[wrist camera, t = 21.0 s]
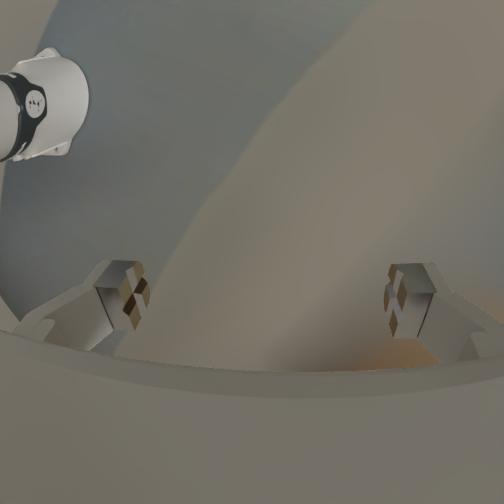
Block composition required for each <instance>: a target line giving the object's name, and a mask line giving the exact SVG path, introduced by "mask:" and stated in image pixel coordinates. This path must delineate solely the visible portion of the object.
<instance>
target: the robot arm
mask: <svg viewBox="0 0 504 504" xmlns="http://www.w3.org/2000/svg"><path fill="white" fill-rule="evenodd" d="M88 101H89V93H88V86H87V82H86V79H85V76H84V74H83V72H82V71H81V69H80V68H79V67H78V66H77V65H76V64H75V63H74V62H72V61H70V60H68V59H66V58H63V57H61V56H60V55H59V53H58V52H57V51H56V50H55V49H54V48H52V47H50V48H46V49H44V50H43V51H42V52H40V53H39V54H38V55H36V56H35V57H34V58H32V59H29V60H24V61H20V62H18V63H17V65H16V66H15V67H14V68H12V69H11V70H10V71H9V72H8V73H2V74H0V162H3V161H5V160H9V159H11V158H12V160H13V161H19V160H22V159H29V158H31V157H35V156H38V155H57V156H61V155H64V154H66V153H67V152H68V150H69V148H70V144H71V141H72V138H73V136H74V135H75V134H76V132H77V131H78V130H79V129H80V127H81V125H82V123H83V121H84V119H85V116H86V113H87V109H88ZM56 147H57V149H56ZM144 273H145V271H144V268H143V265H142V263H141V262H139V261H123V260H102V261H100V262H99V263H98V264H97V266H96V267H95V268H94V269H93V271H92V272H91V273H90V274H89V276H88V277H87V278H86V279H85V281H84V282H83V283H82V284H81V286H76V287H74V288H72V289H70V290H68V291H66V292H65V293H63V294H61V295H59V296H57V297H56V298H54V299H52V300H50V301H48V302H47V303H45V304H43V305H41V306H40V307H38V308H36V309H34V310H32V311H31V312H29V313H27V314H26V315H25V317H24V318H23V319H22V321H21V322H20V323H19V325H18V326H17V327H16V328H15V330H14V331H13V333H9V332H6V331H2V330H0V504H504V324H503V323H501V322H500V321H499V320H497V319H495V318H494V317H493V316H491V315H490V314H488V313H487V312H486V311H484V310H482V309H481V308H479V307H478V306H477V305H475V304H474V303H472V302H470V301H469V300H467V299H466V298H464V297H463V296H461V295H460V294H458V293H457V292H452V291H451V289H450V288H449V286H448V284H447V282H446V281H445V279H444V277H443V276H442V274H441V272H440V270H439V269H438V267H437V266H436V264H435V263H433V262H428V263H407V264H406V263H405V264H391V266H390V268H389V273H388V276H389V279H390V282H389V283H388V284H387V285H386V286H385V291H384V309H385V313H386V315H388V316H389V317H390V322H389V326H390V329H391V333H392V336H393V339H403V338H417V339H418V341H419V342H420V343H421V344H423V346H424V347H425V348H426V349H427V350H428V351H429V352H430V353H431V354H432V355H433V356H434V357H435V358H436V359H437V360H438V361H439V362H440V363H441V364H437V365H429V366H420V367H410V368H400V369H387V370H371V371H347V372H271V371H244V370H229V369H215V368H202V367H192V366H181V365H173V364H165V363H156V362H149V361H142V360H135V359H128V358H122V357H116V356H110V355H105V354H99V353H94V352H89V350H91V349H92V348H93V347H94V346H95V345H97V344H98V343H99V342H100V341H101V340H103V339H104V338H105V337H106V336H107V335H109V334H110V333H111V332H112V331H114V330H113V329H116V330H127V331H135V330H136V328H137V326H138V324H139V322H140V320H141V315H140V313H141V312H142V311H144V310H145V309H146V308H147V306H148V304H149V300H150V288H149V284H148V282H147V281H146V280H145V279H144V278H143V275H144Z"/></svg>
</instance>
